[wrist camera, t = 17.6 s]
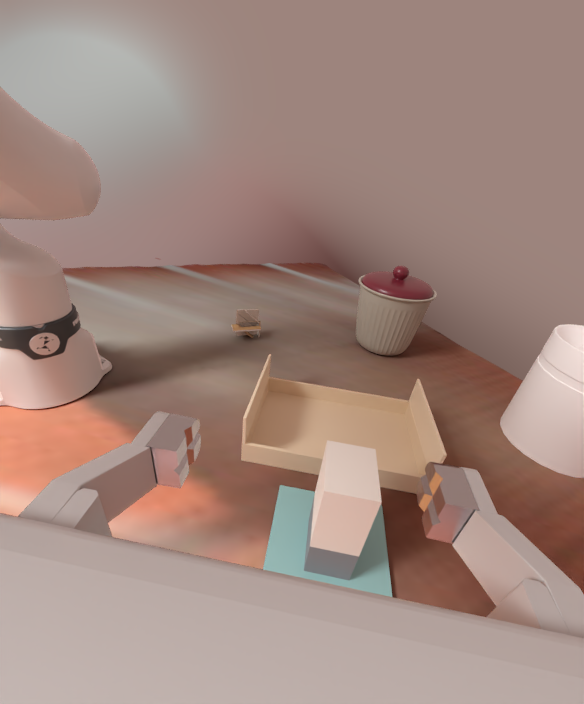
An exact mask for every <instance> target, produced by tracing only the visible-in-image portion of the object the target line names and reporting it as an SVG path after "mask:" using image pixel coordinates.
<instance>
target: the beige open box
mask: <svg viewBox="0 0 584 704" xmlns="http://www.w3.org/2000/svg"><path fill="white" fill-rule="evenodd" d="M270 363H271V354H269V355H268V358H267V360H266V363H265V365H264V368H263V370H262V373H261V375H260V378H259V380H258V383H257V385H256V388H255V390H254V392H253V395H252V397H251V400H250V402H249V405H248V407H247V410H246V412H245V415H244V417H243V437H242V455H241V460H243V461H248V462H253V463H258V464H263V465H269V466H274V467H279V468H284V469H289V470H295V471H300V472H305V473H310V474H315V475H319V473H320V469H321V464H322V460H323V456H324V451H325V447H326V443H327V440H329V441H334V442H339V443H345V444H350V445H356V446H361V447H367V448H372V449H376V457H377V466H378V475H379V484H380V487H383V488H388V489H394V490H399V491H404V492H409V493H415V494H417V486H418V482H419V480H420V478H421V477H422V476H424V475H426V472H425V467H426V465H427V464H428V463H429V462H435V463H441V464H442V463H443V461H444V460H445V458H446V456H447V454H446V451H445V449H444V446H443V443H442V440H441V437H440V435H439V432H438V429H437V426H436V424H435V421H434V418H433V415H432V412H431V410H430V407H429V404H428V401H427V399H426V396H425V393H424V390H423V387H422V385H421V382H420V379H417V381H416V383H415V386H414V389H413V391H412V394H411V396H410V399H409V401H407V400H402V399H396V398H390V397H384V396H378V395H373V394H367V393H361V392H355V391H349V390H344V389H338V388H332V387H326V386H320V385H315V384H309V383H303V382H297V381H291V380H286V379H280V378H274V377H269V374H270Z"/></svg>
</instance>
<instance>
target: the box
mask: <svg viewBox="0 0 584 704" xmlns="http://www.w3.org/2000/svg"><path fill="white" fill-rule="evenodd" d="M381 503H382V501H381V492H380V484H379V475H378V466H377V457H376V449H372V448H367V447H361V446H356V445H350V444H345V443H339V442H334V441H329V440H327V443H326V447H325V451H324V456H323V460H322V464H321V469H320V473H319V477H318V482H317V486H316V490H315V495H314V499H313V503H312V508H311V512H310V516H309V523H308V533H307V543H306V553H305V563H304V571H307V572H312V573H316V574H321V575H326V576H330V577H335V578H340V579H344V580H349V579H350V577H351V575H352V572H353V570H354V567H355V565H356V563H357V560H358V558H359V555H360V553H361V551H362V548H363V546H364V543H365V541H366V539H367V536H368V534H369V531H370V529H371V527H372V524H373V522H374V519H375V517H376V515H377V512H378V510H379V507H380V505H381Z"/></svg>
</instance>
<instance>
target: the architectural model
mask: <svg viewBox="0 0 584 704" xmlns="http://www.w3.org/2000/svg"><path fill="white" fill-rule="evenodd" d="M258 316H259V309H249V310H237V312H236V324H235V325H231V326H232V329H233V331H234V332H236V336H240V335H249V336H250V337H251V338H253V335H255V334H257V335H258V336H259V337H260V330H261V328H260V327H261V325H260V323H259V321H258ZM257 332H258V333H257Z"/></svg>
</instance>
